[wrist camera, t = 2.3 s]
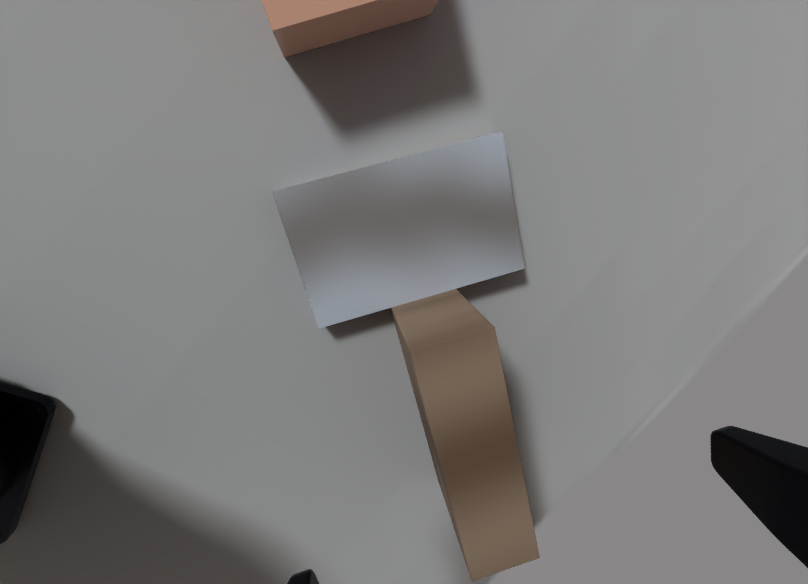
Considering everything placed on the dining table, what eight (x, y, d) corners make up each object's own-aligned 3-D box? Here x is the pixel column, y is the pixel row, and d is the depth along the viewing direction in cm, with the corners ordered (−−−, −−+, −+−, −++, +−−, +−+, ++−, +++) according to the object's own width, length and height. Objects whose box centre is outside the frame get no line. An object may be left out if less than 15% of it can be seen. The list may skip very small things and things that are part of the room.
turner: (545, 444, 20) (612, 532, 15) (380, 498, 19) (395, 608, 14) (492, 133, 15) (563, 117, 11) (276, 190, 15) (248, 201, 10)
